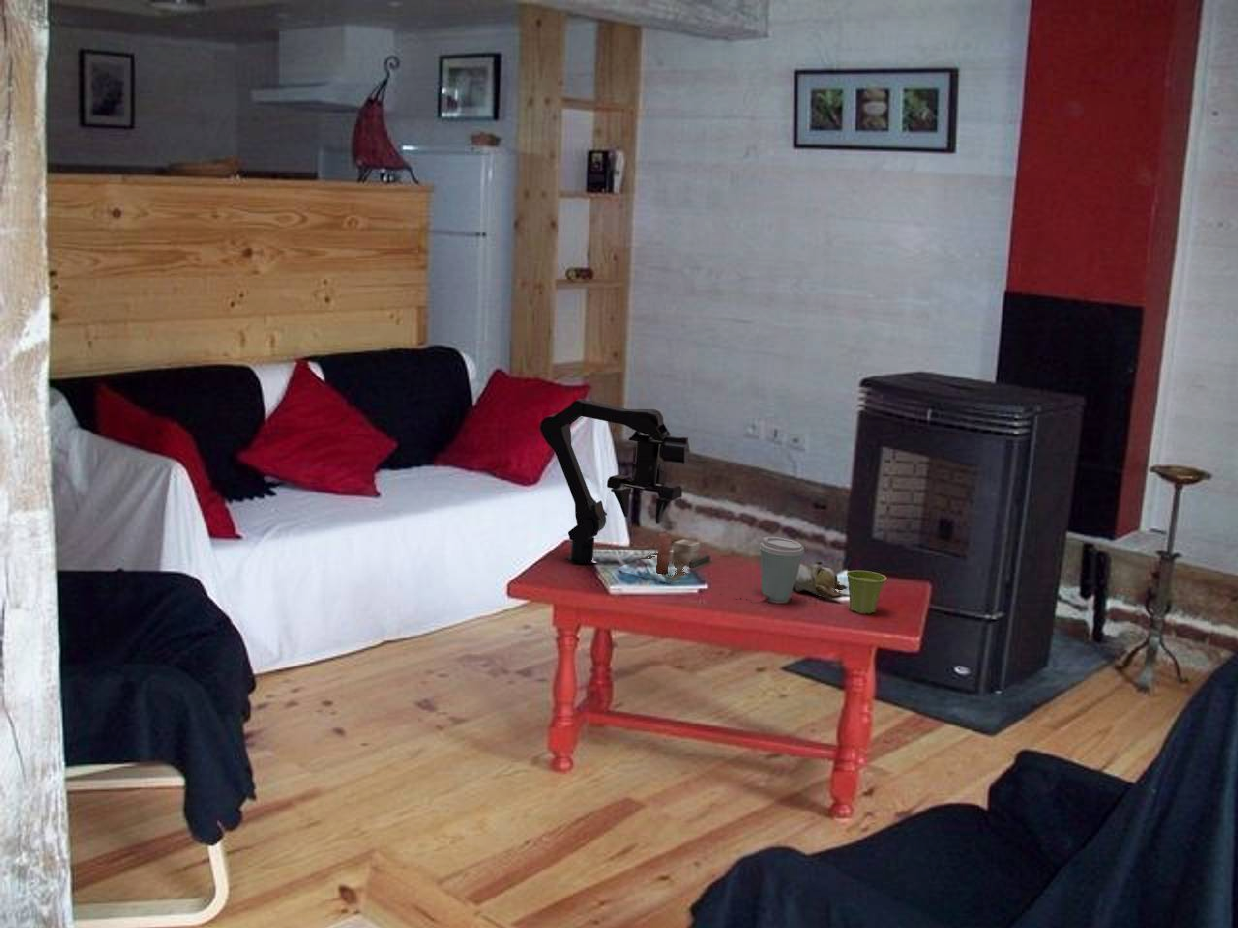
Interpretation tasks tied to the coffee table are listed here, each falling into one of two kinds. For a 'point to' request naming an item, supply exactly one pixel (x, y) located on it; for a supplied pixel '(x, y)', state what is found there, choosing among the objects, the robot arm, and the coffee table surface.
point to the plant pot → (864, 590)
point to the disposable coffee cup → (779, 567)
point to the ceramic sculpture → (818, 580)
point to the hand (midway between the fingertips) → (641, 520)
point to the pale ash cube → (685, 551)
